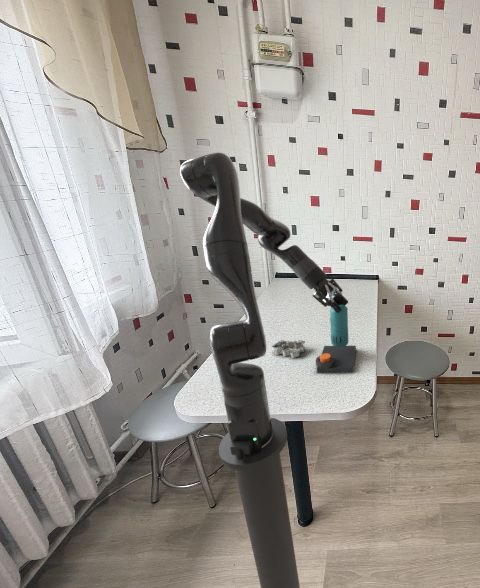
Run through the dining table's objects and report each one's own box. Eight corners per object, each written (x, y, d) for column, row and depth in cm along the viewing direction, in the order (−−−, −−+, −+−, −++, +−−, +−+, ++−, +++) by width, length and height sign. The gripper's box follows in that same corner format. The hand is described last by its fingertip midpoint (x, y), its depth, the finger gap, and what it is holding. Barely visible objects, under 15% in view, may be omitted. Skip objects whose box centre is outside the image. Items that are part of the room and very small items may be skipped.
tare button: (329, 363, 115) (329, 358, 114) (319, 363, 114) (318, 358, 114) (331, 357, 118) (331, 353, 117) (321, 357, 118) (320, 353, 117)
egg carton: (307, 349, 128) (306, 340, 126) (295, 360, 121) (294, 350, 119) (283, 344, 130) (282, 335, 129) (270, 354, 124) (269, 344, 122)
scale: (352, 372, 115) (351, 364, 114) (314, 373, 114) (314, 364, 113) (355, 349, 129) (355, 341, 128) (322, 349, 128) (322, 342, 127)
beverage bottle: (347, 341, 127) (345, 293, 120) (350, 349, 121) (349, 299, 114) (329, 343, 125) (327, 294, 117) (332, 352, 119) (330, 301, 112)
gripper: (312, 272, 122) (343, 305, 125) (292, 286, 109) (328, 322, 111) (324, 260, 119) (357, 294, 122) (306, 272, 106) (342, 309, 109)
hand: (343, 307), depth 117 cm, fingers closed on beverage bottle, 6 cm apart
